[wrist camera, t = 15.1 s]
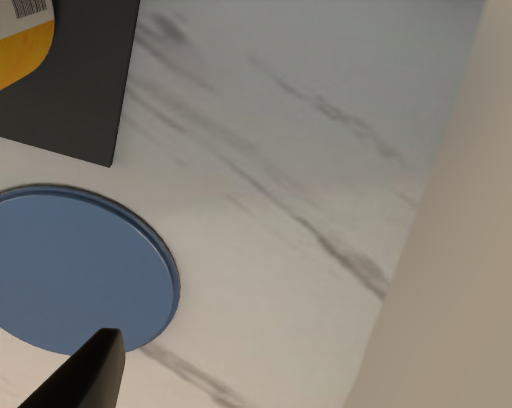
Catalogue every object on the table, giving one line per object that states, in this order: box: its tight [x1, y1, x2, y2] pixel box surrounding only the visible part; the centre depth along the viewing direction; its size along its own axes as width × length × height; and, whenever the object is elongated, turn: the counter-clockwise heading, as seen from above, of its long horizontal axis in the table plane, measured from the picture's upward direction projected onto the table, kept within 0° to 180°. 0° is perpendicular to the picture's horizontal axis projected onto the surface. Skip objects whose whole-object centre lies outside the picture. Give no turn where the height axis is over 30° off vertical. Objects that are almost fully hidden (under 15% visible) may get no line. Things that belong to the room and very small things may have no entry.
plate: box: [0, 185, 180, 356], centre depth 25 cm, size 13×13×1 cm
